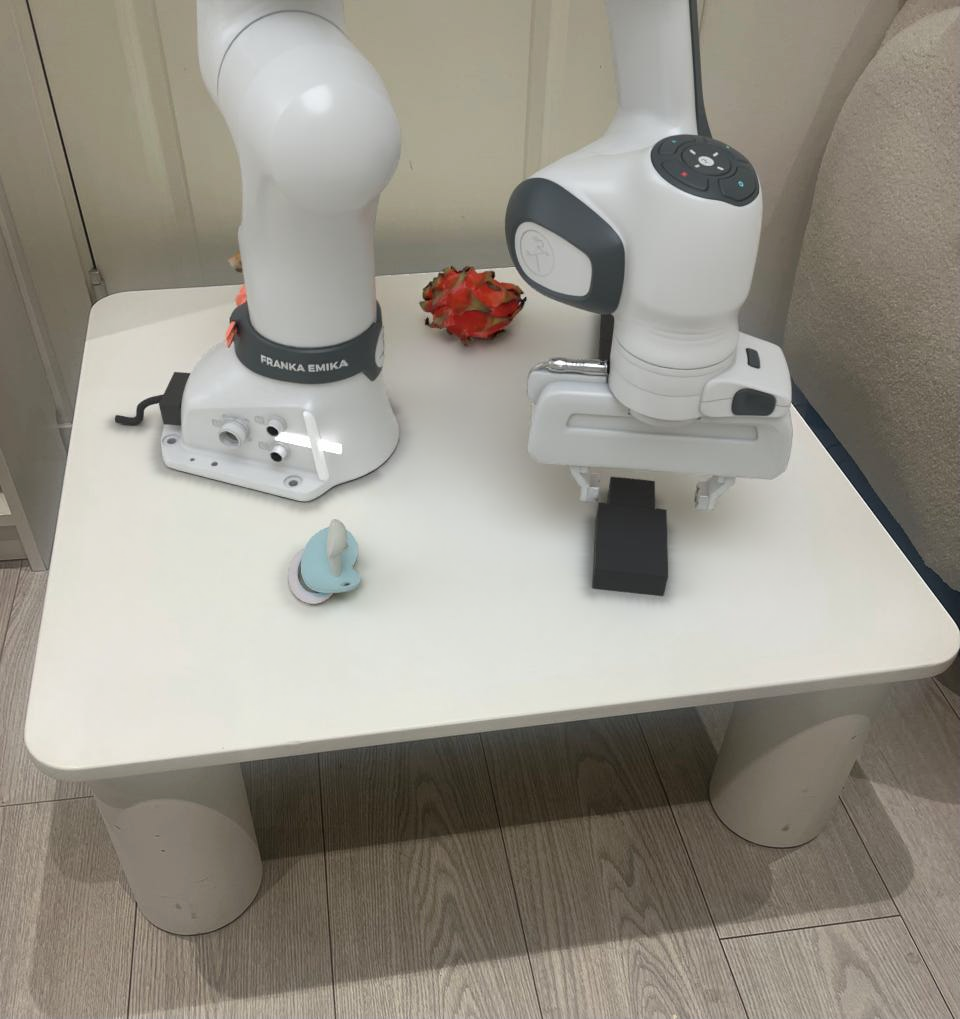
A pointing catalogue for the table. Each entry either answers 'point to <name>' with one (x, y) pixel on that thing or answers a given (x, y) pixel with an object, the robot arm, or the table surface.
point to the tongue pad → (630, 539)
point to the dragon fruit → (471, 303)
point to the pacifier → (325, 564)
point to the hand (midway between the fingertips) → (645, 500)
